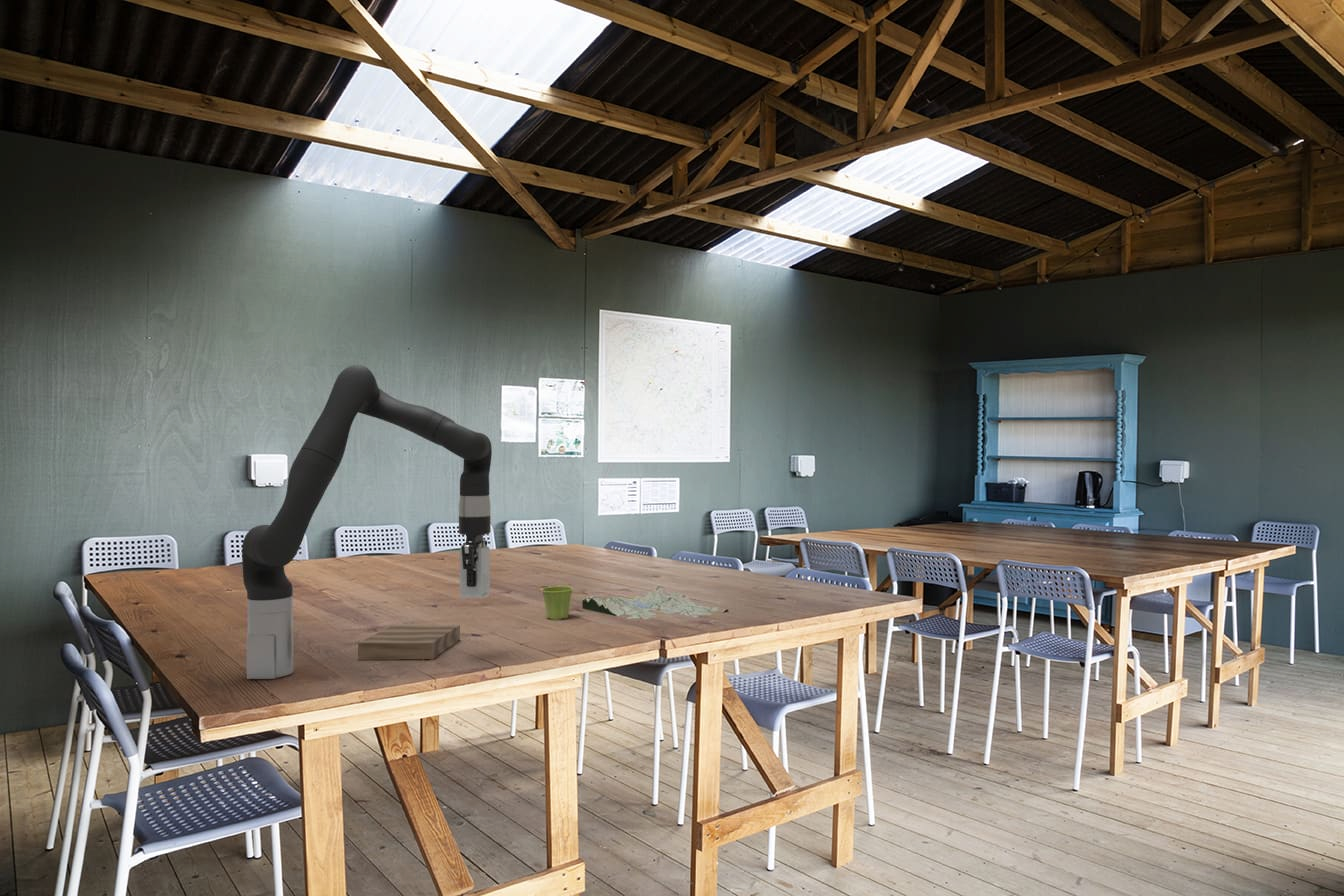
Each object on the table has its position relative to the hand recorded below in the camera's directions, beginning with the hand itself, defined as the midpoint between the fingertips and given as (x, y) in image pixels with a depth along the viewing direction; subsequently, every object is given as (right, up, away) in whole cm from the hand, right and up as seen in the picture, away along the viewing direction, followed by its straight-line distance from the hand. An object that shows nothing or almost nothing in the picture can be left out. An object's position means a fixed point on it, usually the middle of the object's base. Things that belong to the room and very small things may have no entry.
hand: (474, 584), depth 213 cm
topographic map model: (+42, -18, +59) cm, 75 cm away
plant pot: (+14, -17, +47) cm, 52 cm away
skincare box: (0, -3, 0) cm, 3 cm away
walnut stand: (-17, -17, +7) cm, 26 cm away
